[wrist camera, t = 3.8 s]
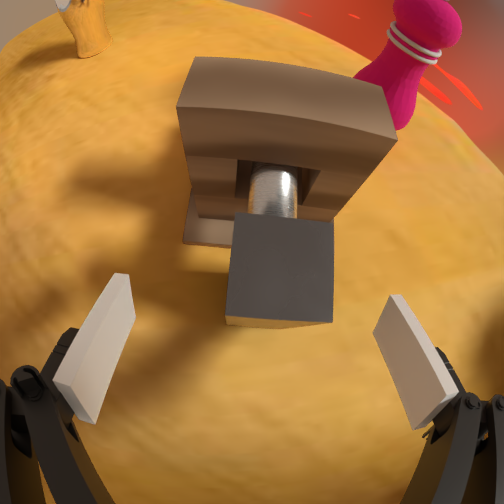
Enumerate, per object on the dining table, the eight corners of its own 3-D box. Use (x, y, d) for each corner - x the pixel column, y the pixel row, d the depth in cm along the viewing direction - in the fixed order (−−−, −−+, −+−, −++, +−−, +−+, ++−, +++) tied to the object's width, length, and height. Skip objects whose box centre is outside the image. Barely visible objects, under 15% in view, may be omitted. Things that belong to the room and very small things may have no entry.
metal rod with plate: (280, 328, 21) (332, 322, 10) (226, 324, 20) (224, 315, 10) (288, 137, 26) (315, 46, 15) (246, 132, 26) (257, 36, 15)
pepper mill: (403, 147, 28) (498, 22, 8) (355, 155, 26) (455, -6, 7) (371, 102, 29) (439, -23, 10) (324, 106, 28) (384, -48, 9)
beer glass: (96, 35, 31) (78, -31, 17) (124, 36, 31) (108, -39, 16) (67, 59, 29) (41, -10, 15) (93, 61, 29) (68, -19, 14)
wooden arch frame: (330, 258, 23) (423, 180, 11) (184, 243, 22) (140, 141, 10) (328, 175, 25) (388, 71, 13) (199, 160, 25) (185, 39, 12)
